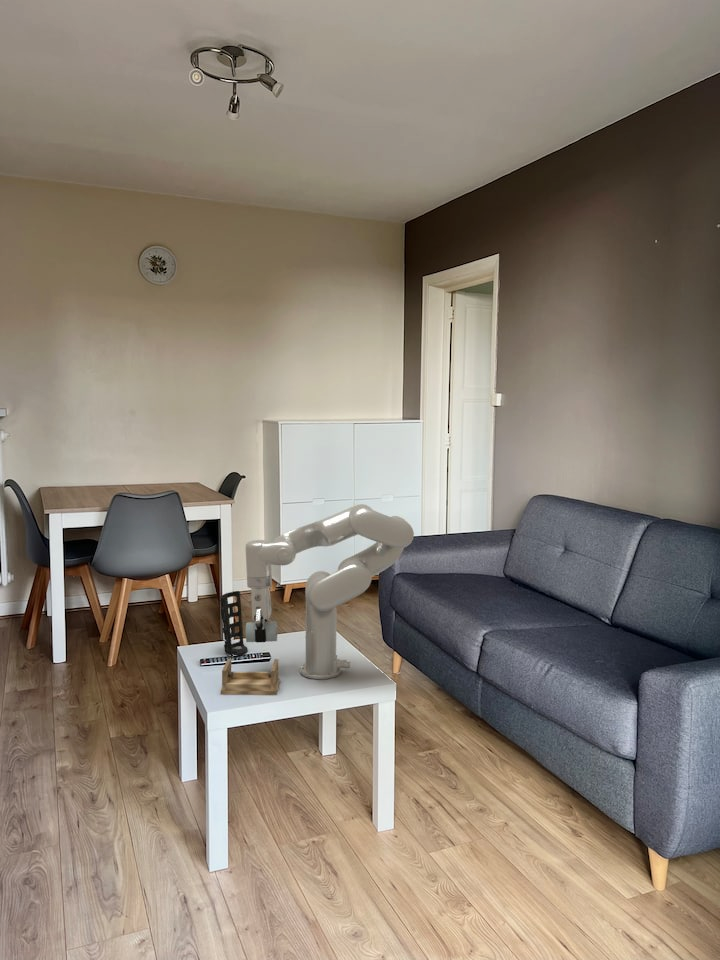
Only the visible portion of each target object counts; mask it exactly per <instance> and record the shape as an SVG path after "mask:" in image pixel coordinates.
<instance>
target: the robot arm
mask: <svg viewBox="0 0 720 960" xmlns="http://www.w3.org/2000/svg"><path fill="white" fill-rule="evenodd" d="M414 532H415V531H414V529H413V527H412V526H411V524H410V523H409V522H408V521H407V520H405V519H404V518H402V517H401V516H397V515H392V516H388V515H386V514H383V513H382V512H378V511H377V510H374V509H373V508H371V507H370V506H369V505H367V504H363V503H362V504H361V503H360V504H356V505H353V506H351V507H348V508H347V509H344V510H342V511H340V512H337V513H335V514H332V515H330V516H327V517H325V518H323V519H320V520H317V521H313V522H312V523H309V524H306V525H303V526H299V527H297V528H294V529H292V530H290V531H287V532H285V533H283V534H281V535H278V536H277V537H276V538H274V539H273V541H272V542H269V541H268V540H264V539H255V540H251V541H248V542H247V543H245V566H246V586H247V588H249V589H250V598H251V599H250V601H251V618H252V620H253V621H254V622H255V642H254V643H266V629H265V622H269V619H270V617H271V616H272V615H271V614H272V603H271V601H272V599H271V589H270V588H271V587H272V586H273V579H272V578H273V575H272V566H288V565H291V563H293V562H294V561H295V559H296V557H297V555H298V554H300V553H301V552H304V551H306V550H310V549H313V548H318V547H324V548H325V547H326V548H327V547H331V546H334V545H336V544H338V543H342V542H343V541H345V540H348V539H350V538H352V537H355V536H361V537H363V538H366V539H367V540H371V541H373V542H375V543H373V544H372V545H370V546H368V547H367V548H366V549H363V550H361V551H359V552H358V553H356V554H353V555H351V556H350V557H349V556H348V557H346V558H345V559H343V560H342V561H341V562H340V563H339V565H338V567H337V571H335V572H333V573H331V574H330V573H329V572H327V571H324V570H322V571H321V570H319V571H316V572H314V573H312V574H311V575H310V576H309V577H308V578H307V580H306V582H305V589H304V590H305V591H304V592H305V664H304V665H302V666H301V667H300V674H301V675H302V676H304V677H305V678H309V679H313V680H314V679H315V680H323V679H324V680H327V679H332V678H335V677H338V676H339V675H340V674H341V673H342V669H351V661H348V660H347V659H339V658H338V655H337V623H338V622H337V618H338V617H337V608H338V607H339V606H341V605H342V604H345V603H346V602H348V601H350V600H353V599H354V598H356V597H358V596H360V595H361V594H363V593H364V592H365V591H367V590H368V588H369V587H370V586H371V583H372V578H373V577H375V576H376V575H379V574H380V573H381V572H383V571H386V570H387V569H389V568H390V567H391V566H393V565H395V563H396V562H397V560H398V559H399V558H400V556H401V555H402V553H403V551H404V548H406V547H408V546H409V545H411V543H412V542H413V540H414V536H415V533H414ZM341 668H342V669H341Z"/></svg>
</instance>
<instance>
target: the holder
mask: <svg viewBox="0 0 720 960" xmlns="http://www.w3.org/2000/svg"><path fill="white" fill-rule="evenodd" d="M232 597H236V602H231V603H229V601H228V598H232ZM219 598H220V599H219V601H220V615H221V620H222V633H223V638H224V645H223V646H224V647H223V648H224V653H225V654H226V655H229V656H230V655H231V656H233V655H239V656H241V655H243V654H245V653H246V652H248V647H247V646H246V645H245V644H244V631H243V630H244V629H243V617H242V614H243V613H242V602H241V601H242V600H241V591H240V590H235V591H231V592H226V593H224V594H222V595H220V596H219ZM234 607H237V611H236V612H235V611H234ZM234 617H237V618H238V621H236V622H233V623H230V618H234ZM236 627H238V632H236ZM236 637H239V641H238V642H233V643H232V639H233V638H236ZM239 647H240V648H239ZM231 656H230V657H231Z"/></svg>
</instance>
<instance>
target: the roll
mask: <svg viewBox="0 0 720 960" xmlns="http://www.w3.org/2000/svg"><path fill="white" fill-rule="evenodd" d="M265 629H266V642H277V641H278V635H279V632H278V623H277V620H275V621H267V622H265ZM245 640H246V643H256V642H255V621H248V622H246V624H245ZM266 642H265V643H266Z"/></svg>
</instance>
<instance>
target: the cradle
mask: <svg viewBox="0 0 720 960" xmlns="http://www.w3.org/2000/svg"><path fill="white" fill-rule="evenodd" d="M280 680H281V679H280V677H279V659H278V658H274V660H273V664H272V667H271V670H270V671H232V658H227V660H226V662H225V664H224V666H223V668H222V670H221V689H220V691H219V693H220V695H257V696H258V695H259V696H260V695H263V696H264V695H269V696H271V695H273V696H274V695H277V693H278V690H279V686H280Z"/></svg>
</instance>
